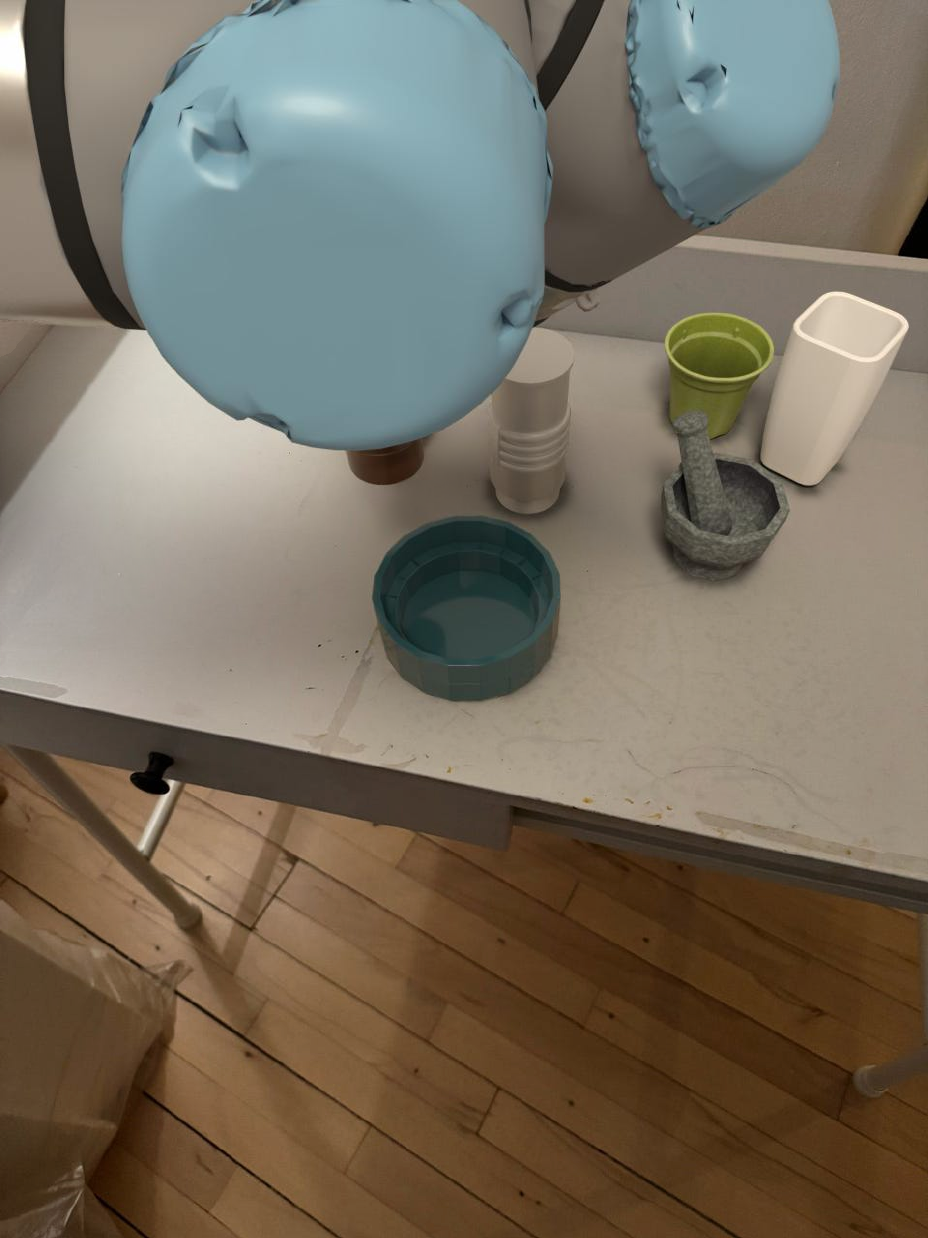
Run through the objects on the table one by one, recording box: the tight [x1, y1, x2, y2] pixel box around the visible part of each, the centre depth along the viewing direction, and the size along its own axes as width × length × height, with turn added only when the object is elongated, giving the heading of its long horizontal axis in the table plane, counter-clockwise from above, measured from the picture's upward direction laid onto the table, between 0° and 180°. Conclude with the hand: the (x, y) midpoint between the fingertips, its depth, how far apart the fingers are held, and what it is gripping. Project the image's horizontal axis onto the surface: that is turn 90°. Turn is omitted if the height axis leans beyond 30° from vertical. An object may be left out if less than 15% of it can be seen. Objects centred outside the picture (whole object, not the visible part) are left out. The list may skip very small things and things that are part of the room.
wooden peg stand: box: [345, 438, 425, 486], centre depth 55 cm, size 6×6×15 cm
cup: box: [760, 291, 910, 486], centre depth 71 cm, size 7×7×15 cm
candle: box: [487, 327, 575, 515], centre depth 70 cm, size 7×7×15 cm
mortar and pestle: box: [660, 411, 791, 582], centre depth 67 cm, size 11×9×12 cm
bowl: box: [371, 515, 562, 702], centre depth 65 cm, size 14×14×6 cm
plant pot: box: [664, 312, 775, 440], centre depth 77 cm, size 9×9×9 cm
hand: (341, 376), depth 59 cm, fingers closed on wooden peg stand, 2 cm apart
